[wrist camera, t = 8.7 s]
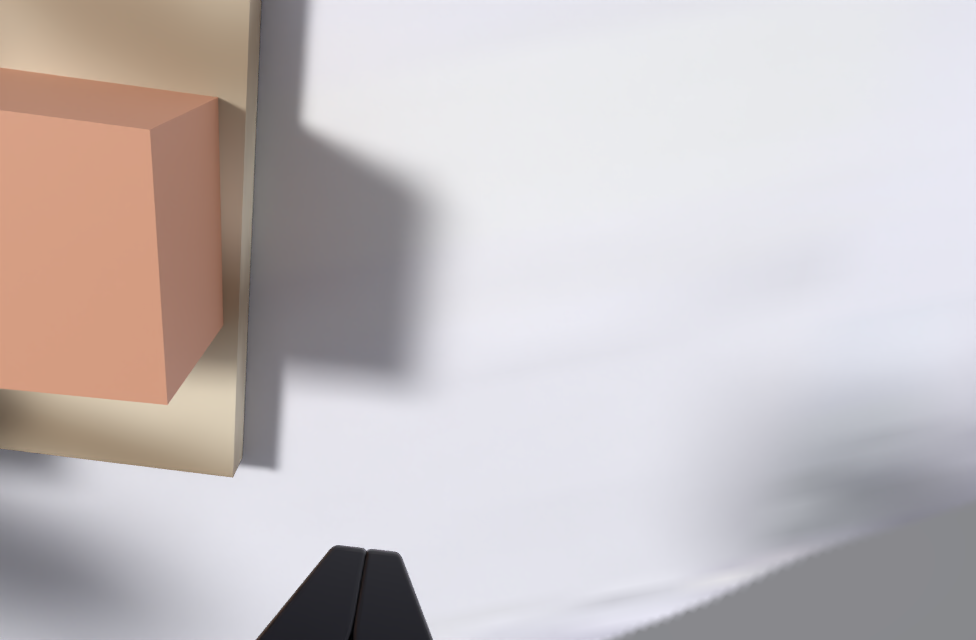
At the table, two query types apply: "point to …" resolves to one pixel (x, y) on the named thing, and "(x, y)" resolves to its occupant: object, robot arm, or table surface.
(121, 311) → the pink rectangular block
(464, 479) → the table surface
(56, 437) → the shelf
